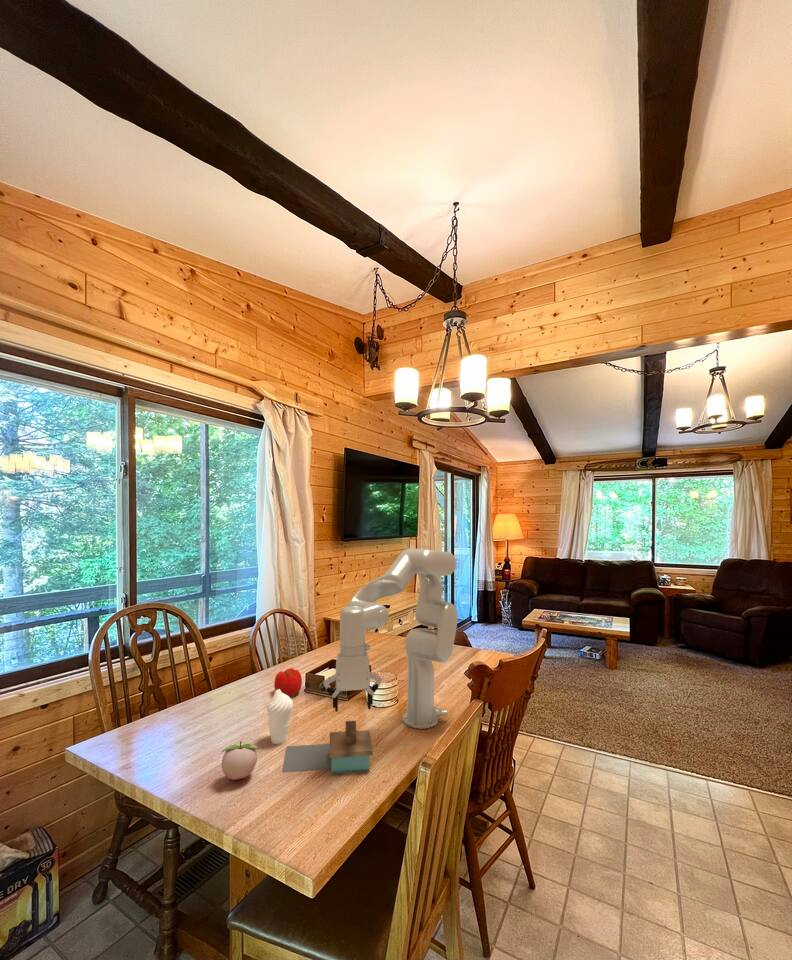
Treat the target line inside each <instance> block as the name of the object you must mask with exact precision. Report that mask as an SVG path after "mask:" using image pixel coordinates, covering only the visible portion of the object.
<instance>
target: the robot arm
mask: <svg viewBox="0 0 792 960" xmlns="http://www.w3.org/2000/svg"><path fill="white" fill-rule="evenodd" d="M456 567H457V560H456V557H455V555H454V554H453V553H452V552H450V551H444V550H443V551H440V550H432V549H428V548H427V549H426V548H415V547H414V548H411V547H410V548H406V549H405V548H404V549H403V550H402V551H401V553H400V554H398V556H397V558H395V560H394V561H393V563H392V564H391V565H390V566H389V568H388V569H387V570H386V571H385V573H383V575H381V576H379V577H377V578H374V579H373V580H372V581H369V582H368V583H366V584H365V585H363V586H362V587H361V588H359V589H358V590H357V592H356V593H354V595H353V597H351V599H350V601H349V603H348V604H347V606H345V607H343V608H342V609H341V610H340V613H339V652H338V653H337V656H336V663H335V673H334V674H333V675H330V677H328V678H326V679H324V680H323V683H322V684H323V687H324V688H325V689H326V692H327V693H328V694H329V695H330V696H331V697H332V708H333V709H334V711H335V713H336V712H338V711H339V710H338V709H339V707H338V706H339V701H338V700H339V697H338V696H339V694H340V692H347V691H361V690H362V691H363V690H365V691H366V692H367V695H366V696H367V699H366V701H367V704H366V705H367V709H368V710H371V706H372V705H373V703H374V702H373V698H374V697H373V696H374V695H375V692H377V690H378V689H379V686H380V685H381V683H382V680H383V679H382V676H380V675H378V674H375V673H374V672H371V671H370V663H369V662H370V661H369V660H370V659H369V655H368V652H367V651H368V650H371V644H368V643H366V631H368V630H377V629H380V628H382V627H383V626H385V625H386V624H387V622H388V620H389V614H390V613H389V610H388V609H387V607H386V606H385V605H383V604H380V603H377V602H376V601H378V600H380V599H384V598H387V597H392V596H395V595H398V594H402V593H403V592H404V591H405V589H406V588H407V587H408V586H409V584H410V583H411V581H412V580H413V578H414V577H415V575H416V574H417V575H418V578H419V585H420V587H419V592H418V597H417V603H416V606H415V613H414V615H415V616H414V617H415V621H416V622H417V623H418V624H420V625H422V626H426V627H430V628H435V629H437V631H432V630H429V629H428V630H427V629H423V628H413V629H411V630H409V631H408V632H407V634H406V637H405V639H404V643H405V645H404V646H405V653H406V658H407V661H406V662H407V687H406V688H407V693H406V694H407V695H406V697H407V700H406V701H407V702H406V704H407V705H406V706H407V707H406V712H405V713H404V714H403V715H402V722H403V723H404V724H405V725H406V726H407V727H410V728H413V729H417V728H418V730H422V729H423V730H425V729H426V728H427V729H430V727H431V728H434V727H435V726H437V725H438V724H439V717H447V716H448V710H447V709H443V707H435V667H434V664H433V661H434V662H436V663H447V662H448V661H449V660H450V658H451V656H452V653H453V651H454V643H455V638H456V634H457V633H456V632H457V627H458V619H459V614H458V610H457V608H456V606H455V605H454V604H453V603H451V602H448V601H443V600H442V596H443V591H444V587H443V582H442V580H441V578H440V576H450V575H452V574H453V573H454V572H455V570H456ZM371 679H372V680H374V681H375V682H374V683H373V685H372V686H371ZM334 681H335V687H334V688H332V686H331V685H330V684H331V683H333V682H334ZM433 726H434V727H433ZM427 729H426V730H427Z"/></svg>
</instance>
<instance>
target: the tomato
mask: <svg viewBox="0 0 792 960" xmlns="http://www.w3.org/2000/svg"><path fill="white" fill-rule="evenodd" d="M302 678H303V677H302V675H301V672H300V671H299V670H298V669H295V668H293V667H292V668H286V669H285V670H284V671H283V670H282V671H278V673H277V674H276V675H275V678H274V683H273V684H274V692H275V691H276V690H278V689H280V690H281V692H282V693H284V694H286V695H288V696H289V697H292V696H294V695H296V694H298V693H299V692H300V691H301V689H302V685H303V681H302V680H303V679H302Z"/></svg>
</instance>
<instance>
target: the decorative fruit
mask: <svg viewBox="0 0 792 960" xmlns="http://www.w3.org/2000/svg"><path fill="white" fill-rule="evenodd" d="M257 750H259V748H258V747H257V745H255V744H253V743H242V741H240V742H239V745H238V744H230V745H229V746H227V747H225V748H224V749H223V750H222V751H221V753H223V752H224V754H223V756H222V759H221V769H222V773H223V775H225V776H226V778H228V779H229V780H232V781H240V780H242V779H245V778H247V777H249V775H250V774H251V773H252V772H253V770H254V769H255V767H256V765H257V761H258V754H257Z"/></svg>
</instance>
